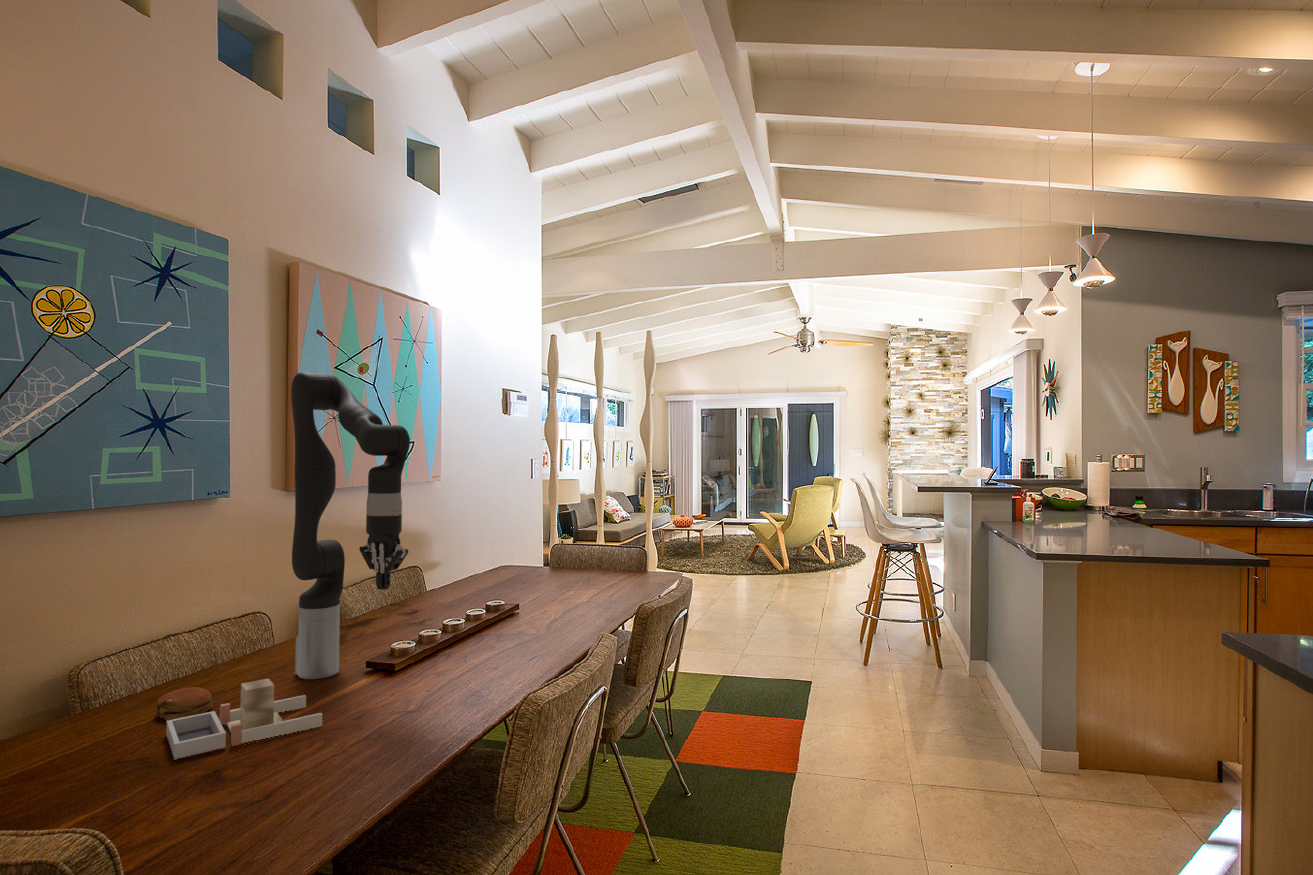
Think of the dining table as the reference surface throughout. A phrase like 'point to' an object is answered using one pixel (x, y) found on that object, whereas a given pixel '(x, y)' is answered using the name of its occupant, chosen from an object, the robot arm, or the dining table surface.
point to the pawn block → (257, 705)
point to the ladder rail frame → (270, 729)
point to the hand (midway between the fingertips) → (383, 588)
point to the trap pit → (195, 734)
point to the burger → (184, 703)
